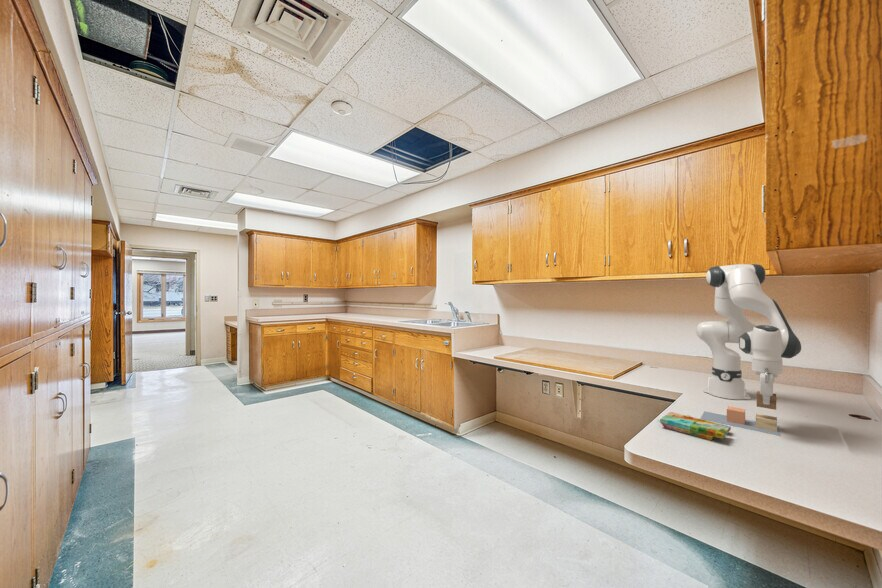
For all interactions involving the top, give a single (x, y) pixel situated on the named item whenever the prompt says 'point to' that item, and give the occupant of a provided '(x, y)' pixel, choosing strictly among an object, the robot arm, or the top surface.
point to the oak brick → (766, 422)
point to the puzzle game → (694, 426)
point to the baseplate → (748, 423)
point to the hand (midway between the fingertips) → (766, 402)
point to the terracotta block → (736, 415)
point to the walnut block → (760, 404)
